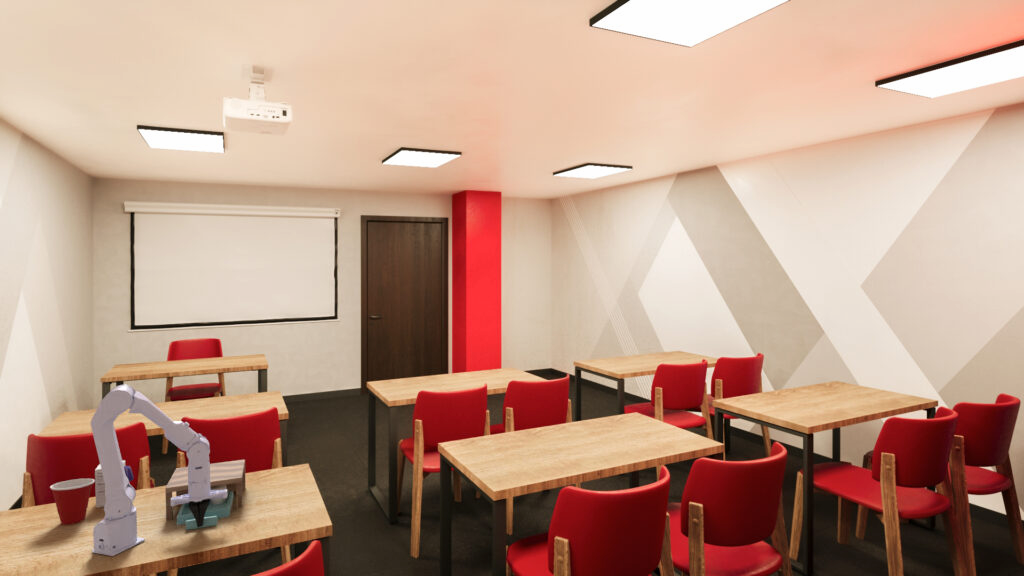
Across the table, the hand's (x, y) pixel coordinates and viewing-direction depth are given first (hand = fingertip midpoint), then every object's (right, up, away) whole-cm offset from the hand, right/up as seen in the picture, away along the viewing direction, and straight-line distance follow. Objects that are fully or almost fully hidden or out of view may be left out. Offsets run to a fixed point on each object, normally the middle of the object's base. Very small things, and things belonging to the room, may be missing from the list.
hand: (200, 525), depth 163 cm
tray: (-4, -1, +11) cm, 12 cm away
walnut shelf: (-8, -1, +20) cm, 21 cm away
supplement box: (-42, -2, +21) cm, 47 cm away
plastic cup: (-43, -2, +7) cm, 44 cm away
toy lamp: (-27, -2, +6) cm, 27 cm away
